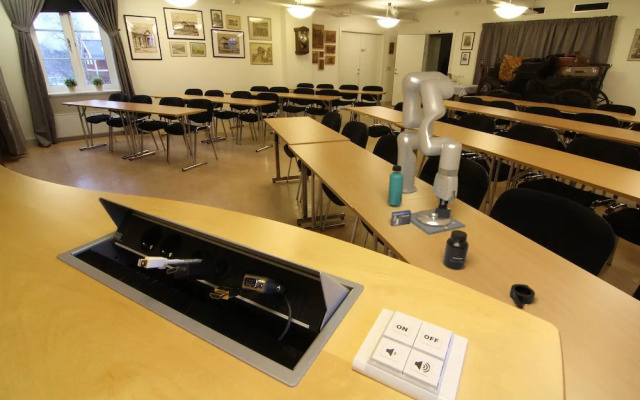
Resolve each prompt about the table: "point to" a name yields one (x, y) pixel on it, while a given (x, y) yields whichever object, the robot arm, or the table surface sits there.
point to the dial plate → (432, 230)
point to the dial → (435, 217)
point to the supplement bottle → (456, 250)
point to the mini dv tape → (400, 218)
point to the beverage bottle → (395, 186)
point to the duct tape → (522, 294)
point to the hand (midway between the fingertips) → (442, 211)
